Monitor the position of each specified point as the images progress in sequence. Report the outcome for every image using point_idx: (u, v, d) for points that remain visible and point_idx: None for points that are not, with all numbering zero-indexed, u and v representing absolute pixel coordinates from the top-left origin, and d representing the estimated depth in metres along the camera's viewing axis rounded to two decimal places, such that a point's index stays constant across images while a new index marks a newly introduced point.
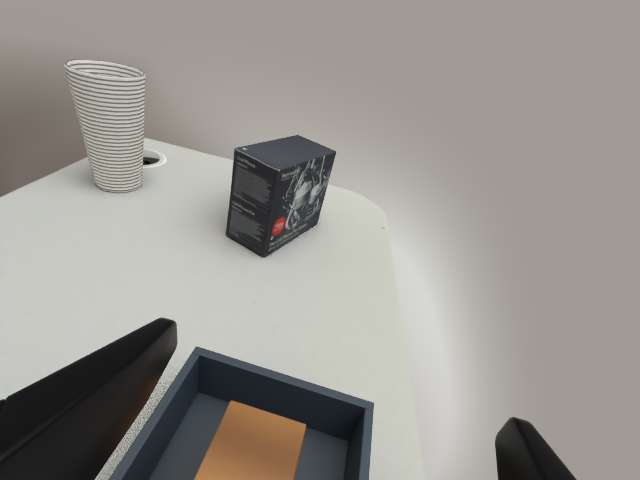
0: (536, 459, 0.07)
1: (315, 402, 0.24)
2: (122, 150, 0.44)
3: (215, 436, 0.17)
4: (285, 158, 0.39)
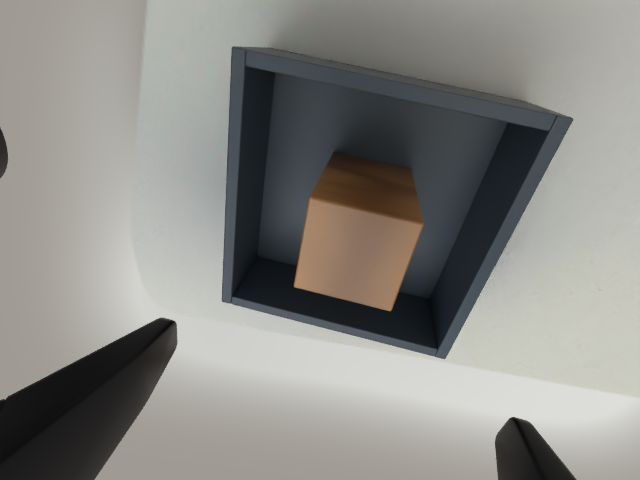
0: (536, 459, 0.07)
1: (457, 291, 0.18)
2: None
3: (369, 213, 0.13)
4: None
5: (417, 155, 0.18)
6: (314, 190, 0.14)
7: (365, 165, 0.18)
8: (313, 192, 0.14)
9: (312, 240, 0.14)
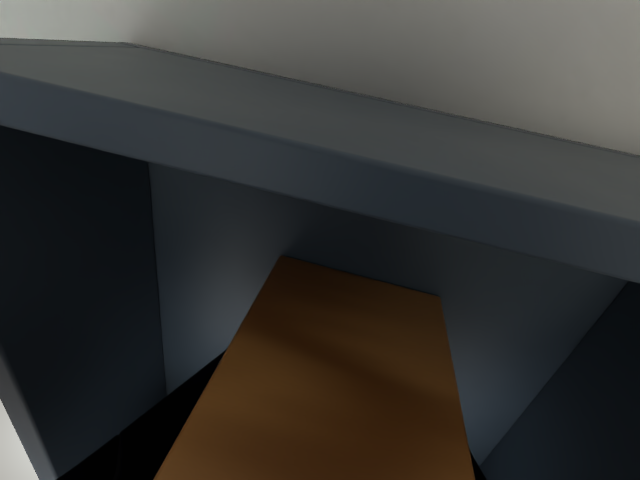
0: None
1: None
2: None
3: None
4: None
5: (454, 272, 0.09)
6: None
7: (341, 303, 0.08)
8: None
9: None
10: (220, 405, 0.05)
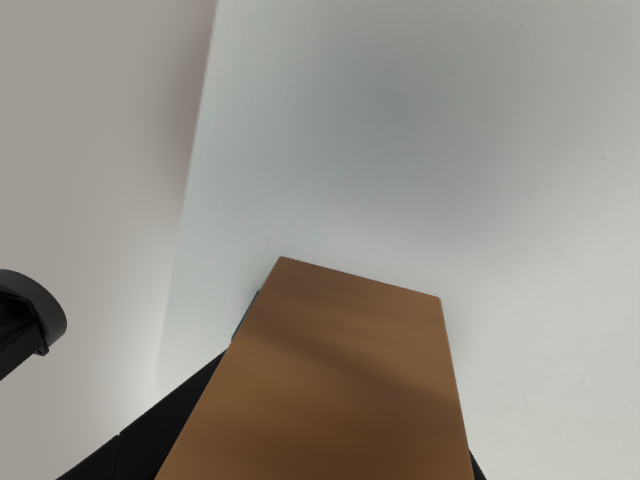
0: None
1: None
2: None
3: None
4: None
5: None
6: None
7: (341, 304, 0.08)
8: None
9: None
10: (220, 406, 0.05)
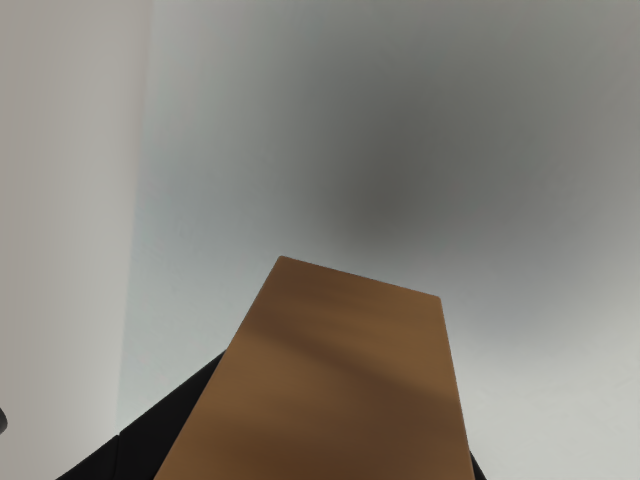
0: None
1: None
2: None
3: None
4: None
5: None
6: None
7: (341, 303, 0.08)
8: None
9: None
10: (220, 406, 0.05)
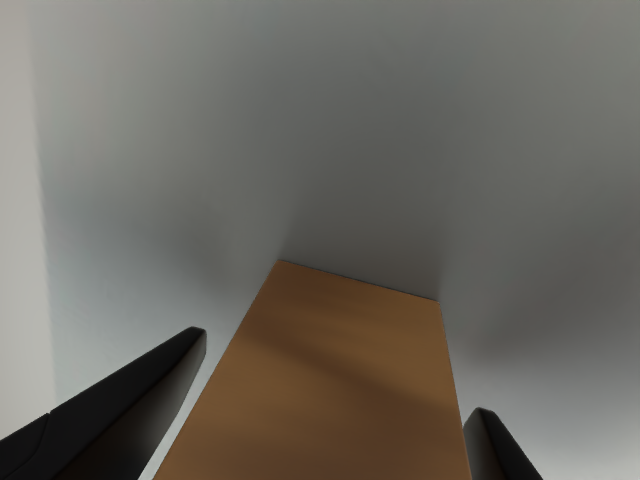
0: (495, 447, 0.07)
1: None
2: None
3: None
4: None
5: None
6: None
7: (338, 309, 0.08)
8: None
9: None
10: (214, 416, 0.05)
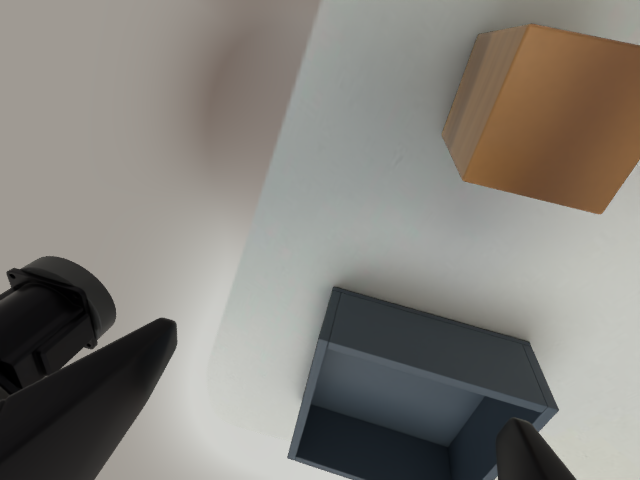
0: (536, 459, 0.07)
1: (471, 470, 0.24)
2: None
3: (621, 46, 0.09)
4: None
5: None
6: (523, 25, 0.10)
7: None
8: (525, 25, 0.09)
9: (512, 102, 0.10)
10: None
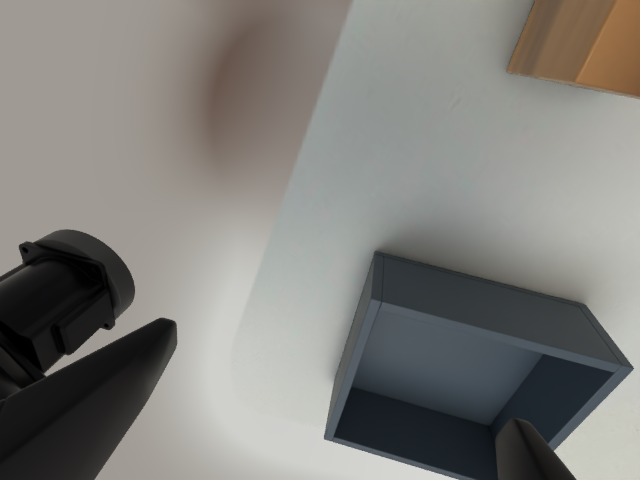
0: (536, 459, 0.07)
1: None
2: None
3: None
4: None
5: None
6: None
7: None
8: None
9: None
10: None
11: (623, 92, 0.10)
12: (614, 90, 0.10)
